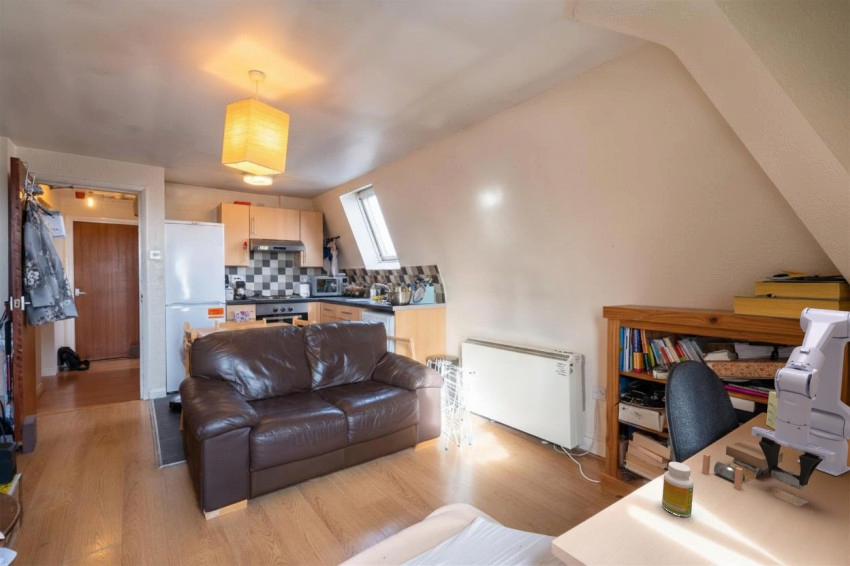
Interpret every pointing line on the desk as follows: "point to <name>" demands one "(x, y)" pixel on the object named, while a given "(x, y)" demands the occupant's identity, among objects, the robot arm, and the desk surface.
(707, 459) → the stop posts
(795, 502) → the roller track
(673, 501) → the supplement bottle
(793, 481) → the roller
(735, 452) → the slab
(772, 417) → the box
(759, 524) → the desk surface
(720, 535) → the desk surface
